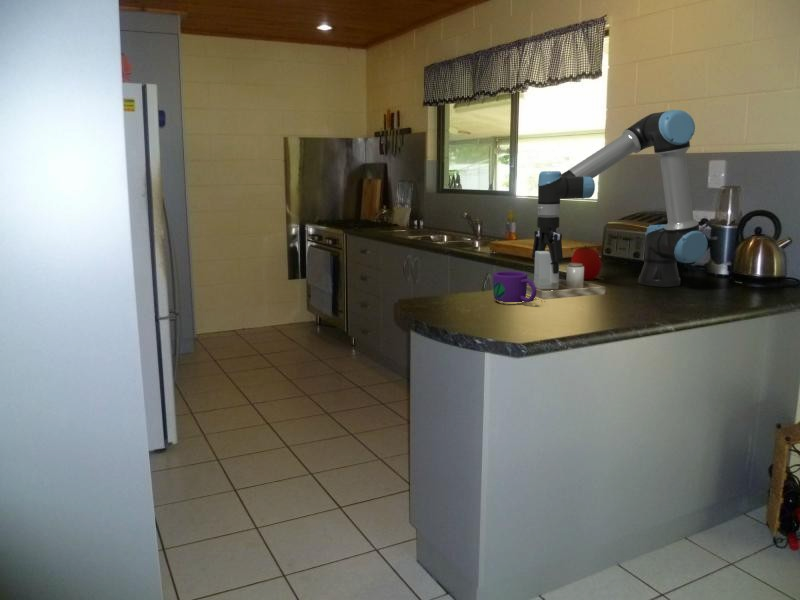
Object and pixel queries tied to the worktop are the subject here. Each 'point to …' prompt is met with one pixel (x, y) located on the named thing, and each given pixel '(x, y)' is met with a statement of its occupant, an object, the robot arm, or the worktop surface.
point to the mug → (512, 286)
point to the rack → (567, 291)
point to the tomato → (588, 262)
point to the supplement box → (543, 271)
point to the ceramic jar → (575, 275)
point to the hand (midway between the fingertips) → (546, 280)
